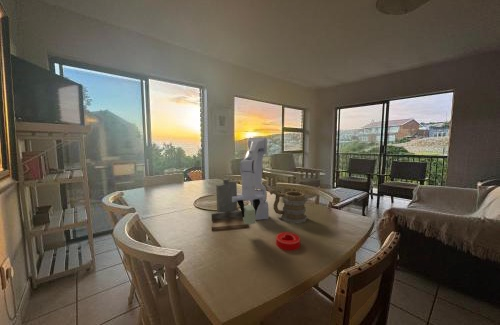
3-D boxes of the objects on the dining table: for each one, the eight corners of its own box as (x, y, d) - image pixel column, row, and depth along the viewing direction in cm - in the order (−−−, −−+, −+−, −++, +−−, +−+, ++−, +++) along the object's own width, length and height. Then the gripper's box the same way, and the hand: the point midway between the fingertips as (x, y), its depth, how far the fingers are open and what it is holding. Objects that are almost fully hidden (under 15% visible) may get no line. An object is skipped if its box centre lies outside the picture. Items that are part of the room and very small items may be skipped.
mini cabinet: (252, 217, 95) (252, 204, 94) (255, 224, 87) (255, 210, 87) (242, 218, 94) (242, 205, 93) (245, 225, 86) (245, 211, 86)
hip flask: (220, 216, 115) (219, 181, 113) (215, 214, 117) (213, 180, 115) (238, 208, 127) (237, 177, 125) (233, 207, 130) (232, 176, 128)
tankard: (307, 216, 113) (308, 190, 111) (303, 225, 101) (304, 196, 100) (273, 211, 121) (273, 187, 120) (266, 219, 110) (266, 192, 108)
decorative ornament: (299, 252, 77) (299, 244, 77) (274, 249, 80) (274, 241, 80) (300, 240, 86) (300, 233, 86) (278, 237, 89) (278, 230, 89)
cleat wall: (245, 219, 110) (245, 210, 109) (248, 226, 100) (248, 217, 99) (211, 222, 106) (211, 212, 106) (211, 230, 97) (211, 220, 96)
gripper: (232, 189, 84) (233, 220, 86) (266, 187, 87) (266, 218, 88) (231, 185, 91) (231, 214, 93) (262, 184, 94) (262, 212, 95)
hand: (248, 216), depth 91 cm, fingers closed on mini cabinet, 4 cm apart
